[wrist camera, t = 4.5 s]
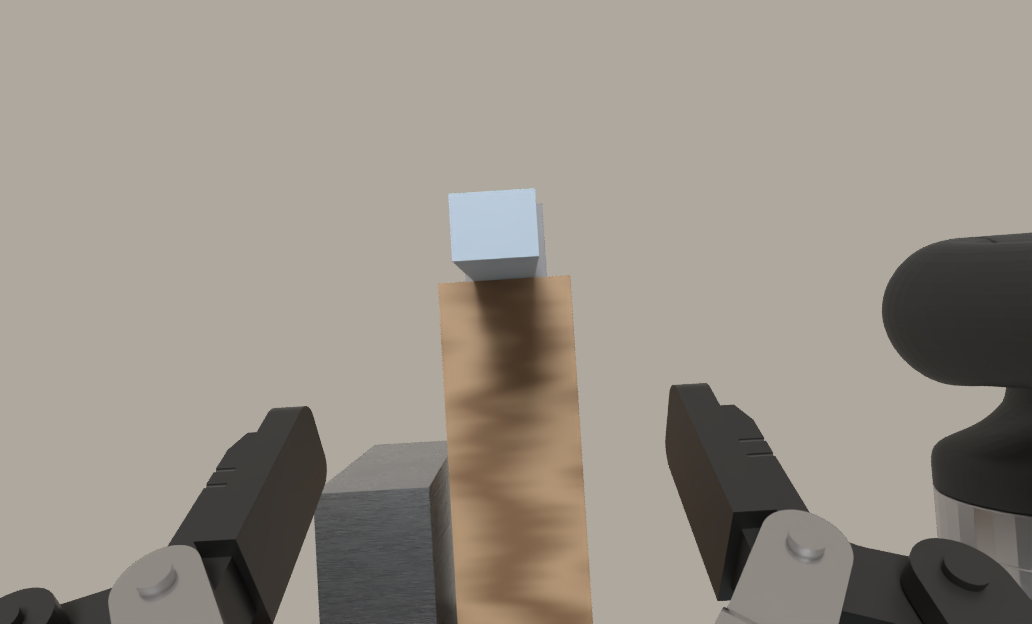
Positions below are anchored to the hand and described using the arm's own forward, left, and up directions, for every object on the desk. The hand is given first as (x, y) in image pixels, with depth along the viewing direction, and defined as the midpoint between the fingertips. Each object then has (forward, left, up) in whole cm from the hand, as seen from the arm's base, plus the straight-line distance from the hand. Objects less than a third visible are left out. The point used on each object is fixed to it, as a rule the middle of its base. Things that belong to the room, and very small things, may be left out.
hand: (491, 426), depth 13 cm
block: (0, -17, +5) cm, 18 cm away
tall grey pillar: (+8, -22, -27) cm, 36 cm away
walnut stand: (0, -22, -27) cm, 35 cm away
